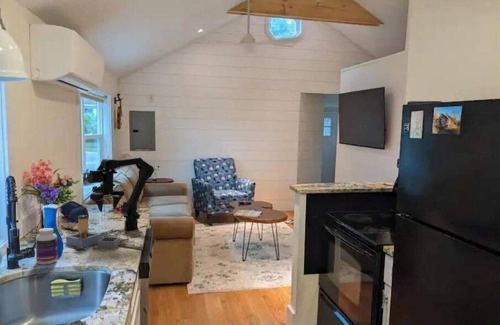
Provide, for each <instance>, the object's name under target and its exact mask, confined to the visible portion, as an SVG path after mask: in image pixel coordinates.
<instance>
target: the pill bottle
mask: <svg viewBox="0 0 500 325" xmlns="http://www.w3.org/2000/svg"><path fill="white" fill-rule="evenodd" d="M38 232H39V233H38V235H36V237H35V260H36V263H37V264H38V265H41V266H42V265H45V266H46V265H50V264H54V263H56V262H57V261H58V236H57V234H56V232H55V233H53V232H54V229H53V228H42V229H41V228H40V229H39V230H38Z"/></svg>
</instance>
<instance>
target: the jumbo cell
mask: <svg viewBox="0 0 500 325" xmlns="http://www.w3.org/2000/svg"><path fill="white" fill-rule="evenodd" d="M77 220H78V221H77V222H78V226H77V227H78V228H77V229H78V232H77V233H78V238H81V239H83V238H86V237H88V232H89V215H87V214H83V215H78V218H77Z"/></svg>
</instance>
